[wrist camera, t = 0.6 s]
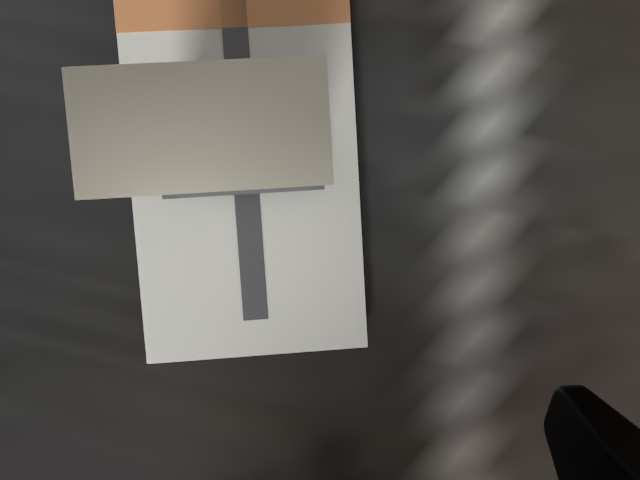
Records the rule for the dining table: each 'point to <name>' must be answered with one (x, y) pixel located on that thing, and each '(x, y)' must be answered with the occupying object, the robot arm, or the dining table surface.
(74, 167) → the handle
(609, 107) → the dining table surface
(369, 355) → the dining table surface
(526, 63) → the dining table surface
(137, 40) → the fader deck
